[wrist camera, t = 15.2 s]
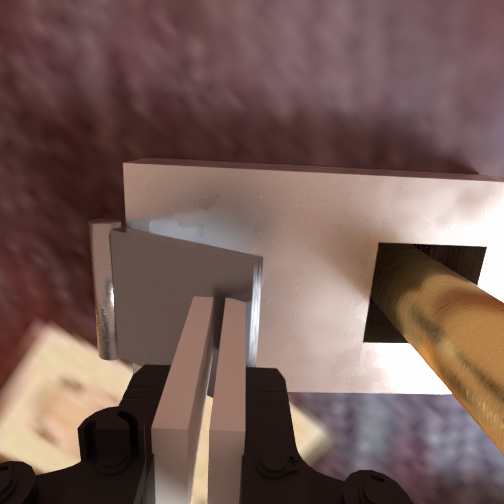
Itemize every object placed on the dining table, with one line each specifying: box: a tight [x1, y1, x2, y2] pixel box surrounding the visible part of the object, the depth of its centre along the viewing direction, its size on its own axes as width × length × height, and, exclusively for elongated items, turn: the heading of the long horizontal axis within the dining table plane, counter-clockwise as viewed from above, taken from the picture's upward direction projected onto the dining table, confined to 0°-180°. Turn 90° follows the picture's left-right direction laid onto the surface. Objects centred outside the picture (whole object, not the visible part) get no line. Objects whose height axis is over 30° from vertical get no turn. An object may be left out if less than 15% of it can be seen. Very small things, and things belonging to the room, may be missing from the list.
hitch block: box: [123, 157, 504, 394], centre depth 21 cm, size 20×12×5 cm, turn 87°
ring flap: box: [88, 218, 263, 398], centre depth 16 cm, size 9×7×1 cm
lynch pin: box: [370, 242, 504, 454], centre depth 16 cm, size 4×4×16 cm
